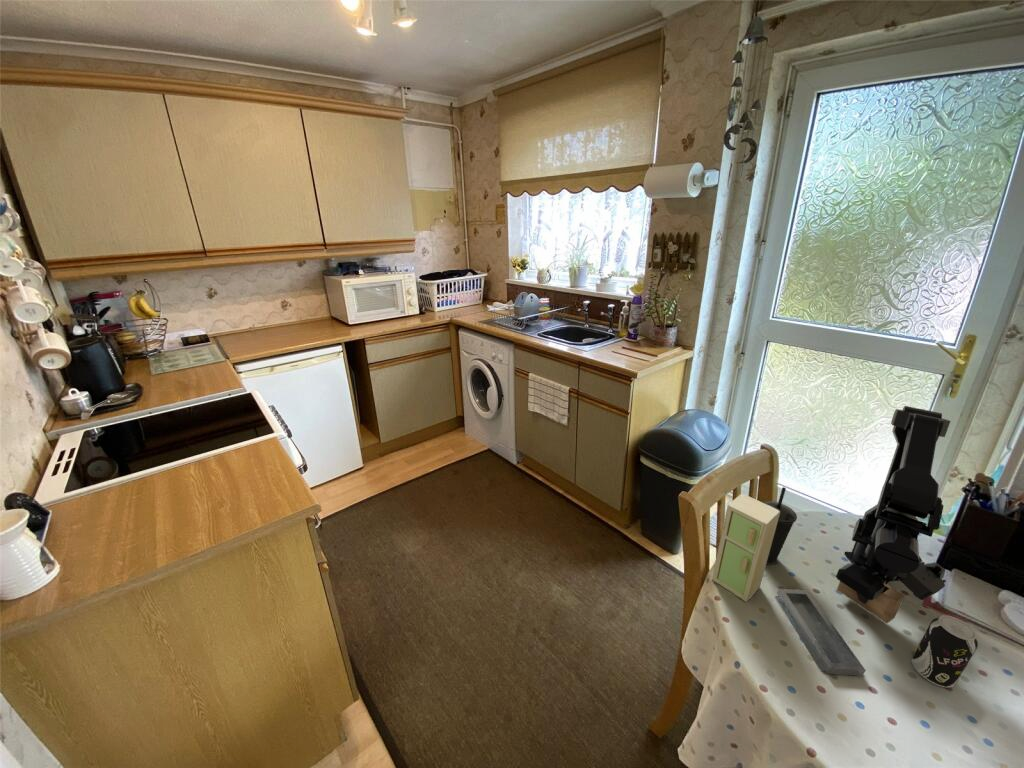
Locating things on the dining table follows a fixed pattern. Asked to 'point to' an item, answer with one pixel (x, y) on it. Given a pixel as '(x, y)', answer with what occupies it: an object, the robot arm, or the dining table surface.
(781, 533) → the drinking cup
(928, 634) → the beverage can
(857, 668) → the frame
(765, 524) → the toy refrigerator
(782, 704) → the dining table surface
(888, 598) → the wooden block
